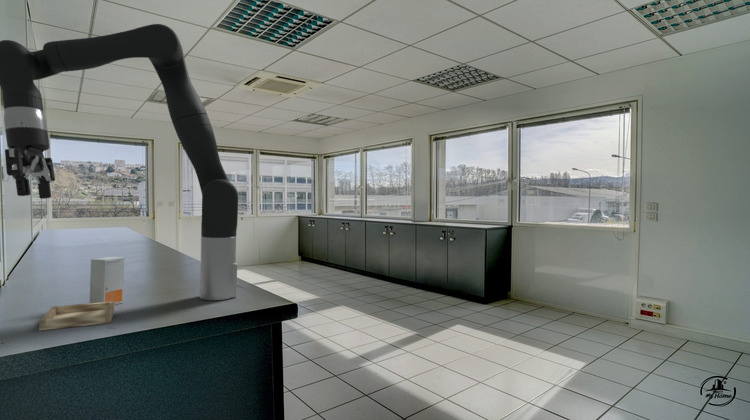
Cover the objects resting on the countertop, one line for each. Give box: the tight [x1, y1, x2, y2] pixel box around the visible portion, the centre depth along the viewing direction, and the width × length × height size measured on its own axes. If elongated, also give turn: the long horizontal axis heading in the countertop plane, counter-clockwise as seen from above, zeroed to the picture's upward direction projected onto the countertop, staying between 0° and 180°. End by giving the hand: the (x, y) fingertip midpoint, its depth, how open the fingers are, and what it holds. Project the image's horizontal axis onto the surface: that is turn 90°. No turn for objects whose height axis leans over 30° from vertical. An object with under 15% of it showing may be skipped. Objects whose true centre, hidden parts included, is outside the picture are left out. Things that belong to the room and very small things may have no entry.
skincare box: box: [89, 256, 125, 306], centre depth 97 cm, size 6×4×12 cm
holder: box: [38, 301, 116, 331], centre depth 86 cm, size 12×12×2 cm
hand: (35, 197), depth 91 cm, fingers open, 8 cm apart
